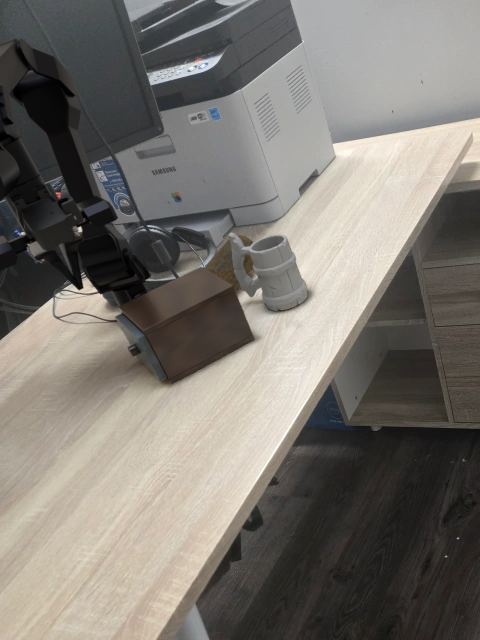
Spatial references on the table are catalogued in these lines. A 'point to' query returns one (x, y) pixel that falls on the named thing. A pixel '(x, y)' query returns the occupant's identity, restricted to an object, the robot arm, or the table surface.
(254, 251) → the mug
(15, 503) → the table surface
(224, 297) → the cabinet
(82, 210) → the robot arm
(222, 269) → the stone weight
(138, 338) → the drawer
